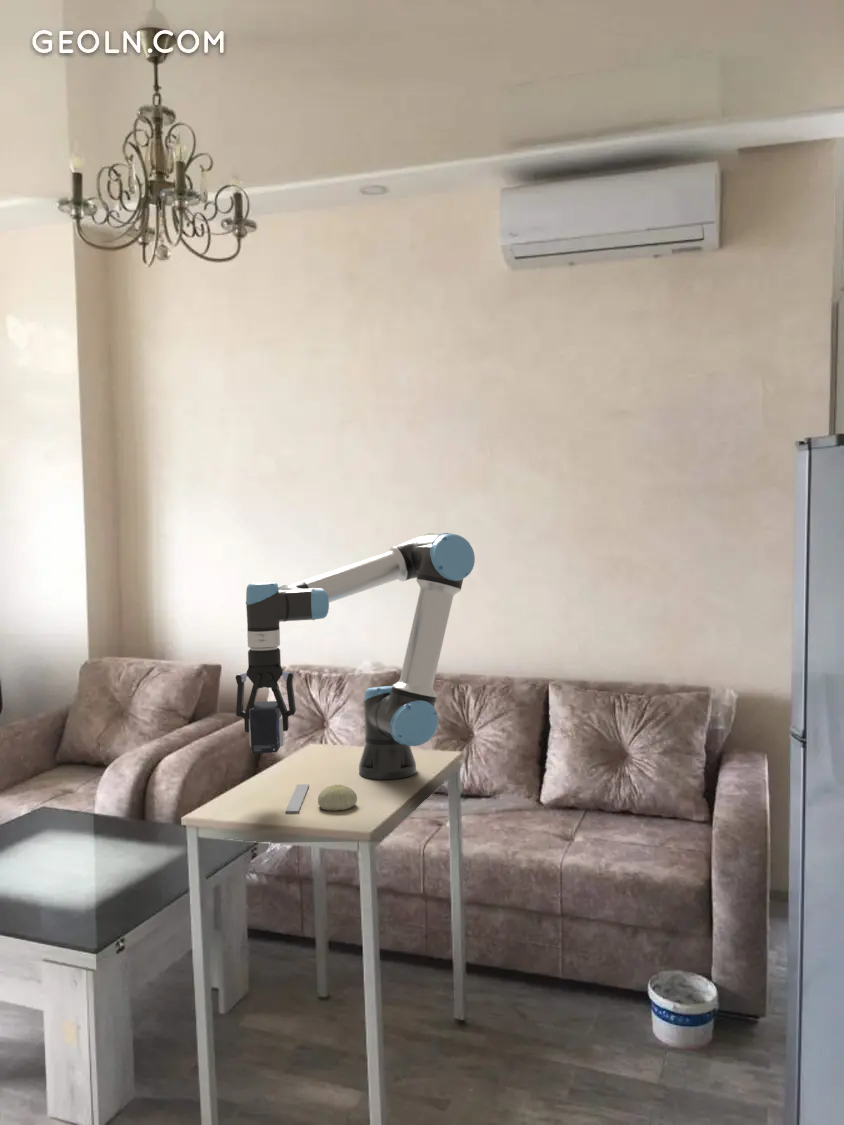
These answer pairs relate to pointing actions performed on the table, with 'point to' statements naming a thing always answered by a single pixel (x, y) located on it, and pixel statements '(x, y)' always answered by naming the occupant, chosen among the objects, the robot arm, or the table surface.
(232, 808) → the table surface
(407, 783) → the table surface
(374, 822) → the table surface
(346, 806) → the sea urchin shell
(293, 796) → the gray strip
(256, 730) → the small box
